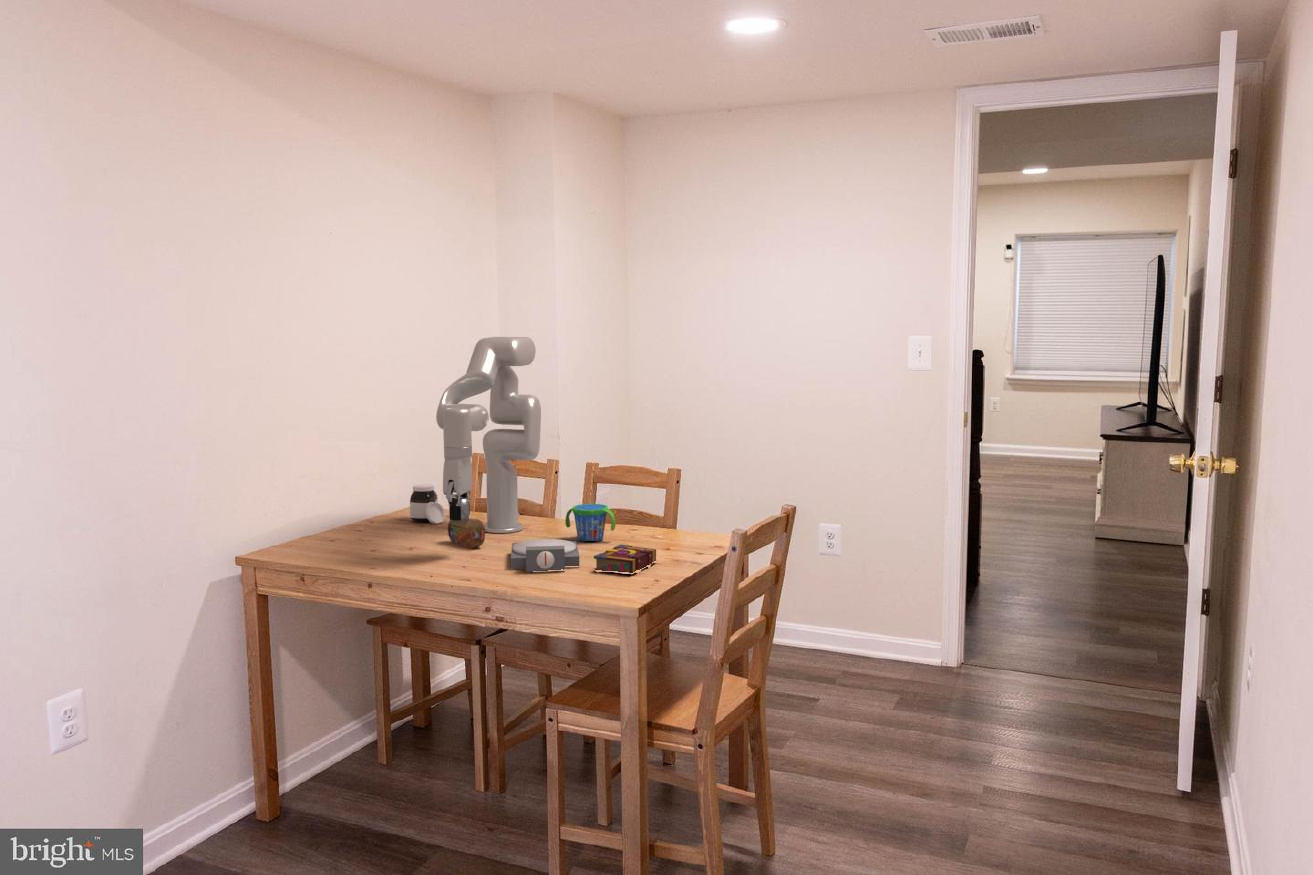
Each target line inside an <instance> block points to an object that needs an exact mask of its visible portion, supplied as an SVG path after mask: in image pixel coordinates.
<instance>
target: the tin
mask: <svg viewBox="0 0 1313 875" xmlns="http://www.w3.org/2000/svg"><path fill="white" fill-rule="evenodd" d="M484 525H485V524H484V523H483V521H481V520H480V519H478V518H477V519H476V518H473V517H469V520H468V521H465V522H453V521H451V520H450V519H449V522H448V525H447V534H448V537H449V540H450V541H451V543H453V544H454V545H456V544H457V546H461V547H465V548H469V549H473V548H479V547H481V546H482V545H483V544H484V543H485V538H486V531H485V528H484Z"/></svg>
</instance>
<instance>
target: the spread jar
mask: <svg viewBox="0 0 1313 875" xmlns="http://www.w3.org/2000/svg"><path fill="white" fill-rule="evenodd" d="M438 498H439V497H438V494H437V492H436V491H435V485H434V484H431V483H420V484H419V483H418V484H414V485H412V493H411V495H410V500H409V515H410V519H411V521H412V522H414V523H417V524H427V523H431V524H434V525H437V524H440V523H442V522H443V521H444V520H445V516H446V515H445V514H446V513H445V509H444V507H443V506H442V505H441V504H440V503H439V502H438V501H439V500H438Z"/></svg>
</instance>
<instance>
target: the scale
mask: <svg viewBox="0 0 1313 875" xmlns="http://www.w3.org/2000/svg"><path fill="white" fill-rule="evenodd" d="M577 543H578V542H577V541H575V540H574V541H573V540H572V541H570V540H564V539H555V538H541V539H537V538H536V539H528V540H524V541H520V542H512V543H511V550H510V570H526V572H533V571H548V570H561V569H563V570H564V569H565V570H566V568H565V566H579V567H580V552H579V548H578V544H577Z"/></svg>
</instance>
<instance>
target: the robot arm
mask: <svg viewBox="0 0 1313 875" xmlns="http://www.w3.org/2000/svg"><path fill="white" fill-rule="evenodd" d="M536 352H537V350H536V345H535V342H534V341H533V340H532V338H530V337H528V336H489V337H484V338H481V339H479V340H477V342H476V343H475V345H474V349H473V352H472V354H471V357H470V360H469V364H468V366H467V369H466V373H465V374H463V375H462V376H461V377H459V378H458V379H456V380H455V381H453V382H452V383H451V384H450V385H449V386H447V388H446V389H445V390H444V391H443V393H442V395H441V397H440V400H439V403H438V406H437V410H436V415H435V417H436V418H435V419H436V423H437V426H438V427H439V428H440V429H442V430H443V433H442V434H443V459H444V461H443V472H442V473H443V474H442V493H443V495H444V496H445V498H446V500H447V502H448V508H449V514H448V515H449V521H450V520H458V521H460V520H461V506H459V505H460V497H467V498H469V516H471V511H470V510H471V509H470V508H471V507H470V501H471V496H470V495H471V491H472V489H473V481H474V480H473V468H472V458H473V440H472V432H479V431H482V430H484V429H485V428H486V427H487V426H488V423H489V419H490V421H491V422H492V423H493V424H495V425H503V426H504V425H508V426H523V429H515V428H514V429H511V428H495V429H491V430H488V431H486V433H485V434H484V435H483V436H482V437H483V438H482V450H483V455H484V459H485V461H484V462H485V470H486V471H485V473H486V516H487V517H486V521H487V523H485V524H483V525H484V528H485V533H491V534H492V533H493V534H510V533H516V532H520V531H522V530H523V529H524V525H523V524H522V523H521V522H519V518H520V512H519V510H518V509H519V508H518V507H519V506H518V505H519V504H518V503H519V502H518V472H517V470H516V468H515V466H514V465H513V463H512V462H511V461H533V460H535V459H537V457H538V455H539V454H540V453H539V452H540V445H541V423H542V421H541V420H542V408H541V402H540V400H539V399H538V397H537V396H536V395H532V394H519V378H518V376H517V374H516V372H515V370H514V369H513V368H512V367H524V366H529V365H530V364H532V363H533V361H534V360H535V357H536V354H537V353H536ZM489 390H490V394H489V412H488V409H487V408H486V407H485V406H483V405H481V404H473V403H471V404H469V403H468V404H467V403H461V402H463V401H464V400H466V399H469V398H471V397H472V398H473V397H474V396H477V395H480V394H483V393H485V392H487V391H489ZM454 493H455V494H454ZM454 497H457V499H455V498H454Z"/></svg>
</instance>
